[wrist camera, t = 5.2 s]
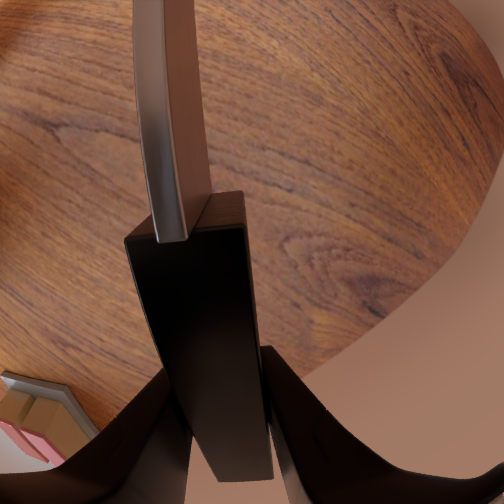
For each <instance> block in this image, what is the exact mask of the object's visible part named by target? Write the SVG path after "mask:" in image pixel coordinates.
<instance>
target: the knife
mask: <svg viewBox="0 0 504 504" xmlns="http://www.w3.org/2000/svg"><path fill="white" fill-rule="evenodd" d="M133 60H134V79H135V94H136V106H137V116H138V126H139V135H140V143H141V151H142V158H143V165H144V172H145V179H146V185H147V191H148V197H149V203H150V208H151V215H149V216H148V217H147V218H146V219H145V220H144V221H143V222H142V223H141V224H139V225H138V226H137V227H136V228H135V229H134V230H133V231H132V232H131V233H130V234H128V235H127V236H126V237H125V238H124V245H125V249H126V253H127V257H128V260H129V264H130V268H131V272H132V275H133V279H134V282H135V286H136V289H137V293H138V296H139V299H140V303H141V306H142V309H143V312H144V315H145V318H146V321H147V324H148V327H149V330H150V333H151V336H152V339H153V341H154V344H155V347H156V350H157V352H158V355H159V358H160V360H161V363H162V365H163V368H164V371H165V373H166V376H167V378H168V380H169V383H170V385H171V388H172V390H173V392H174V395H175V397H176V399H177V402H178V404H179V406H180V408H181V410H182V413H183V415H184V417H185V419H186V421H187V423H188V425H189V428H190V430H191V432H192V434H193V436H194V438H195V440H196V442H197V443H198V445H199V447H200V449H201V451H202V453H203V455H204V457H205V459H206V461H207V463H208V464H209V466H210V468H211V470H212V472H213V473H214V475H215V477H216V479H217V480H218V482H244V481H260V480H272V479H274V472H273V463H272V453H271V444H270V434H269V424H268V418H267V409H266V400H265V391H264V382H263V372H262V362H261V352H260V341H259V331H258V322H257V313H256V303H255V294H254V285H253V275H252V266H251V256H250V247H249V238H248V228H247V219H246V209H245V200H244V193H243V191H241V190H239V191H230V192H222V193H213V194H212V185H211V177H210V168H209V160H208V152H207V143H206V134H205V125H204V115H203V106H202V96H201V85H200V75H199V63H198V51H197V39H196V26H195V11H194V0H133Z"/></svg>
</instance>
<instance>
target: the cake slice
mask: <svg viewBox="0 0 504 504" xmlns="http://www.w3.org/2000/svg"><path fill="white" fill-rule="evenodd" d="M19 430H20V431H21V432H22V433H23V434H24V435H25V436H26V438H27V439H28V440H29V441H30V442H31V443H32V444H33V445H34V446H35V447H36V448H37V449H38V450H39V451H40V452H41V453H42V454H43V455H44V456H45V457H46V458H47V459H48V460H49V461H51V462H52V463H53V464H54V465H55V466H56V467H57V466H59V465H61V464H62V463H64V462H65V461H66V460H67V459H69V458H70V457H71V456H72V455H74V454H75V453H76V452H77V451H79V450H80V449H81V448H82V447H84V446H85V445H86V444H87V443H89V442H90V441H91V440H90V439H89V437H88V436H87V435H86V434H85V433H84V431H83V430H82V429H81V428H80V426H79V425H78V424H77V423H76V421H75V420H74V419H73V418H72V416H71V415H70V414H69V412H68V411H67V409H66V408H65V407H64V405H63V404H62V403H61V402H58V401H54V400H50V399H46V398H42V397H37V399H36V401H35V402H34V404H33V406H32V408H31V409H30V411H29V413H28V415H27V417H26V418H25V420H24V422H23V424H22V426H21V427H20V429H19Z"/></svg>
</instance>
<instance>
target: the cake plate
mask: <svg viewBox="0 0 504 504" xmlns="http://www.w3.org/2000/svg"><path fill="white" fill-rule="evenodd" d="M0 376H1V378H2V379H3V381H4V382H5V384H6V385H7V387H8V388H9V390H8V392H7V393H6V395H5V396H4V398H3V399H2V401H1V402H0V427H1V429H2V430H3V431H4V432H5V433H6V434H7V435H8V436H9V437H10V438H11V439H12V440H13V442H14V443H15V444H16V445H17V446H18V447H19V448H21V450H22V451H23V452H24V453H25V454H27V455H29V456H31V457H34V458H36V459H39V460H41V461H43V462H46V463H48V462H49V460H48V459H47V458H46V457H45V456H44V455H43V454H42V453H41V452H40V451H39V450H38V449H37V448H36V447H35V446H34V445H33V444H32V443H31V442H30V441H29V440H28V439H27V438H26V436H25V435H24V434H23V433H22V432H21V431H20V430H19V429H20V427H21V426H22V424H23V422H24V420H25V418H26V417H27V415H28V413H29V411H30V409H31V408H32V406H33V404H34V402H35V401H36V399H37V397H42V398H46V399H50V400H54V401H58V402H61V403H62V404H63V405H64V407H65V408H66V409H67V411H68V412H69V414H70V415H71V416H72V418H73V419H74V420H75V421H76V423H77V424H78V425H79V426H80V428H81V429H82V430H83V431H84V433H85V434H86V435H87V436H88V437H89V439H90V440H92V439H93V438H94V437H96V436H97V435H98V434H99V433H100V432H99V431H98V429H97V428H96V427H95V425H94V424H93V423H92V421H91V420H90V419H89V417H88V416H87V415H86V413H85V412H84V410H83V409H82V408H81V406H80V405H79V403H78V402H77V400H76V399H75V397H74V396H73V394H72V393H71V391H70V390H69V388H68V387H67V385H61V384H56V383H51V382H46V381H41V380H36V379H32V378H28V377H24V376H20V375H16V374H12V373H9V372H5V371H3V372H2V374H1V375H0Z"/></svg>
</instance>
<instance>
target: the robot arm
mask: <svg viewBox="0 0 504 504" xmlns="http://www.w3.org/2000/svg"><path fill="white" fill-rule="evenodd" d="M260 352H261V362H262V372H263V382H264V391H265V400H266V409H267V418H268V424H269V428H270V431H271V435H272V439H273V442H274V447H275V450H276V454H277V458H278V462H279V466H280V469H281V473H282V477H283V480H284V484H285V488H286V491H287V495H288V499H289V502H290V504H504V496H503V494H502V493H503V492H504V462H502V463H500V464H498V465H497V466H495V467H494V468H493V469H491V470H490V471H488V472H487V473H485V474H484V475H481V476H479V477H476V478H471V479H454V478H446V477H439V476H432V475H426V474H420V473H415V472H410V471H406V470H403V469H400V468H398V467H396V466H394V465H392V464H390V463H389V462H387V461H386V460H385V459H383V458H382V457H381V456H379V455H378V454H376V453H375V452H374V451H372V450H371V449H370V448H369V447H367V446H366V445H365V444H364V443H362V442H361V441H360V440H358V439H357V438H356V437H355V436H354V435H353V434H351V433H350V432H349V431H348V430H347V429H345V428H344V427H343V426H342V425H341V424H340V423H339V422H338V420H337V419H336V418H335V417H334V416H333V415H332V414H331V413H330V412H329V411H328V410H326V408H325V407H324V405H323V404H322V403H321V402H320V401H319V400H318V399H317V398H316V396H315V395H314V394H313V393H312V392H311V391H310V390H309V388H307V386H306V385H305V384H304V383H303V382H302V380H301V379H300V378H299V377H298V376H297V375H296V374H295V372H294V371H293V370H292V369H291V368H290V367H289V365H288V364H287V363H286V362H285V361H284V359H283V358H282V357H281V356H280V355H279V354H278V352H277V351H276V350H275V349H274V348H273V347H272V346H271V345H268V346H260ZM116 417H117V418H114V419H113V420H112V421H111V422H110V423H109V424H108V425H107V426H106V427H105V428H104V429H103V430H102V431H101V432H100V433H99V434H98V435H97V436H96V437H94V438H93V439H92V440H91V441H90V442H89V443H87V444H86V445H85V446H84V447H82V448H81V449H80V450H79V451H77V452H76V453H75V454H74V455H72V456H71V457H70V458H69V459H67V460H66V461H65V462H64V463H62V464H61V465H59V466H57V467H56V468H53V469H51V470H47V471H39V472H28V473H9V474H0V504H184V500H185V492H186V483H187V475H188V467H189V459H190V452H191V444H192V437H193V434H192V432H191V430H190V428H189V425H188V423H187V421H186V419H185V417H184V415H183V413H182V410H181V408H180V406H179V404H178V402H177V399H176V397H175V395H174V392H173V390H172V388H171V385H170V383H169V380H168V378H167V376H166V373H165V371H164V368H162V369H161V370H160V371H159V372H158V373H157V374H156V375H155V376H154V377H153V378H152V380H151V381H150V382H149V383H148V384H147V385H146V386H145V387H144V388H143V389H142V390H141V391H140V392H139V393H138V394H137V395H136V396H135V397H134V398H133V399H132V400H131V402H130V403H129V404H128V405H127V406H126V407H125V408H124V409H123V410H122V411H121V412H120V413H119V414H118V415H117V416H116Z"/></svg>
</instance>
